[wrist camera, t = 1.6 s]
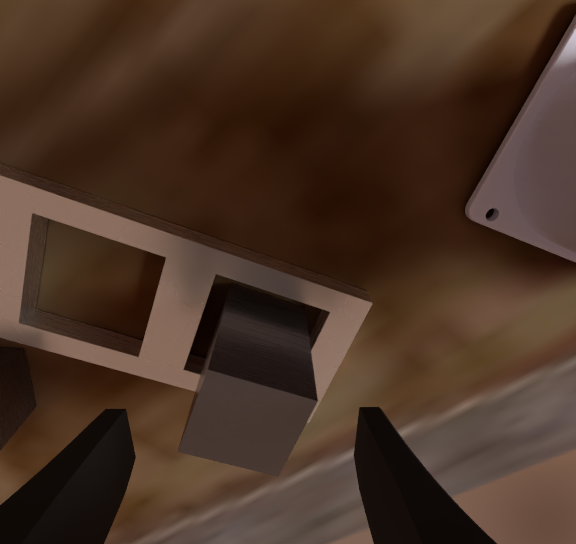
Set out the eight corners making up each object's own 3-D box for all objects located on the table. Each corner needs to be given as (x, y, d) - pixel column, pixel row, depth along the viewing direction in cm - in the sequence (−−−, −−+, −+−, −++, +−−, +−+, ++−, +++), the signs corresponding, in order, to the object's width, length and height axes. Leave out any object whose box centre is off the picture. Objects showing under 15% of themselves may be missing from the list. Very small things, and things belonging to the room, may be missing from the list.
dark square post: (304, 306, 17) (317, 401, 11) (278, 365, 18) (278, 476, 13) (231, 282, 16) (207, 369, 11) (209, 345, 18) (177, 451, 12)
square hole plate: (366, 290, 17) (373, 304, 15) (307, 404, 19) (309, 424, 18) (-198, 94, 13) (-247, 92, 12) (-180, 266, 16) (-217, 280, 14)
